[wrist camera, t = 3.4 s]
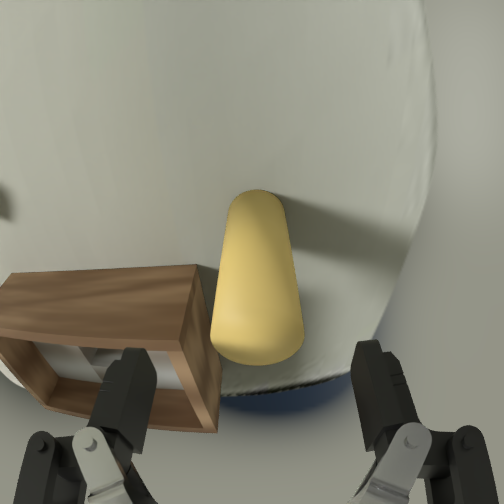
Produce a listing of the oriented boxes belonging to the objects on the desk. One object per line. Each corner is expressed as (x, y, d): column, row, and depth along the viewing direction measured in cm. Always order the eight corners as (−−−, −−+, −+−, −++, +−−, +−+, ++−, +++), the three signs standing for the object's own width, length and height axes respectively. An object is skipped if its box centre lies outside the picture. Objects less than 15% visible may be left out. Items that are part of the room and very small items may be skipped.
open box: (11, 273, 23) (-26, 323, 17) (196, 264, 22) (178, 340, 16) (65, 360, 30) (45, 409, 25) (222, 370, 29) (217, 433, 24)
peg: (225, 191, 19) (202, 307, 11) (283, 188, 19) (306, 301, 11) (231, 241, 21) (218, 366, 13) (285, 238, 21) (302, 362, 13)
